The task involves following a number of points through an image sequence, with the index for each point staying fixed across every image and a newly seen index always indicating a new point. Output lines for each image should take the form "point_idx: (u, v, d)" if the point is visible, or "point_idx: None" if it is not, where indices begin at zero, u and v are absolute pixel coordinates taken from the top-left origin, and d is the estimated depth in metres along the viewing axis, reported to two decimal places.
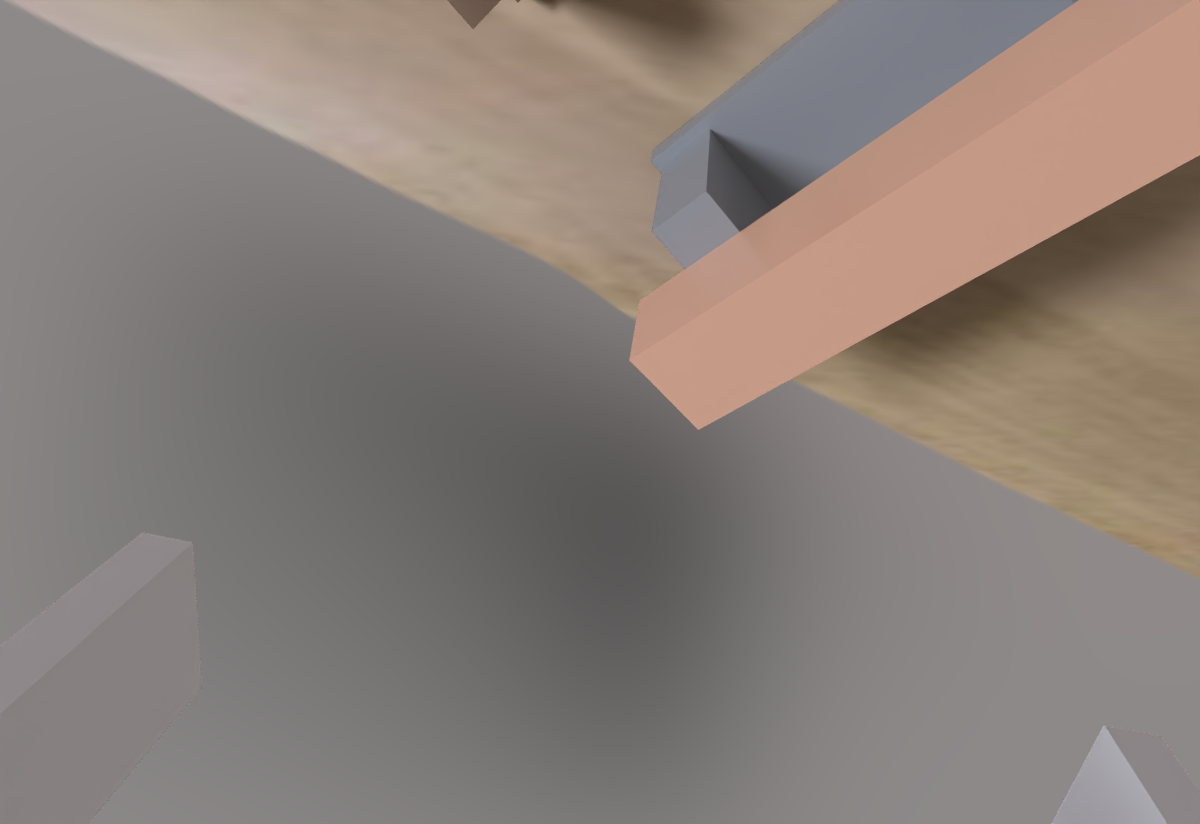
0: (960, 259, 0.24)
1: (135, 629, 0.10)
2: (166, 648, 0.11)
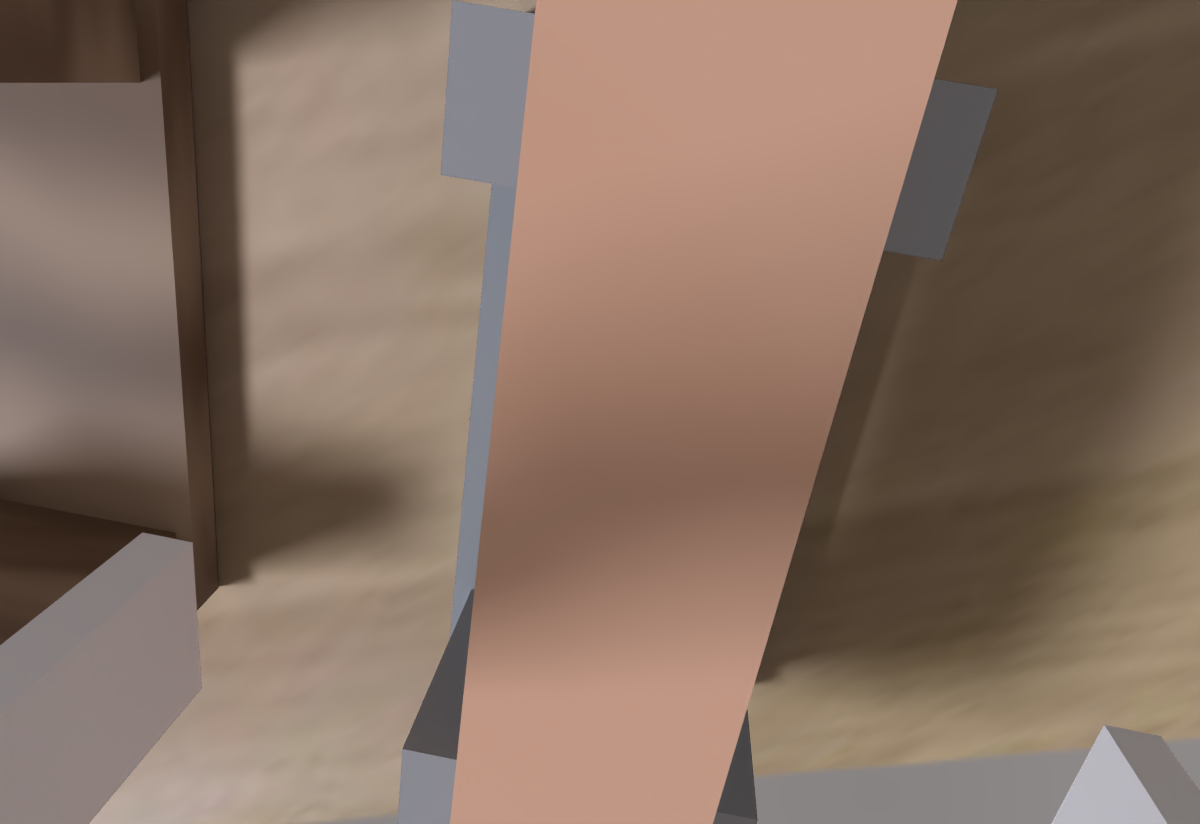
0: (676, 739, 0.11)
1: (135, 629, 0.10)
2: (166, 648, 0.11)
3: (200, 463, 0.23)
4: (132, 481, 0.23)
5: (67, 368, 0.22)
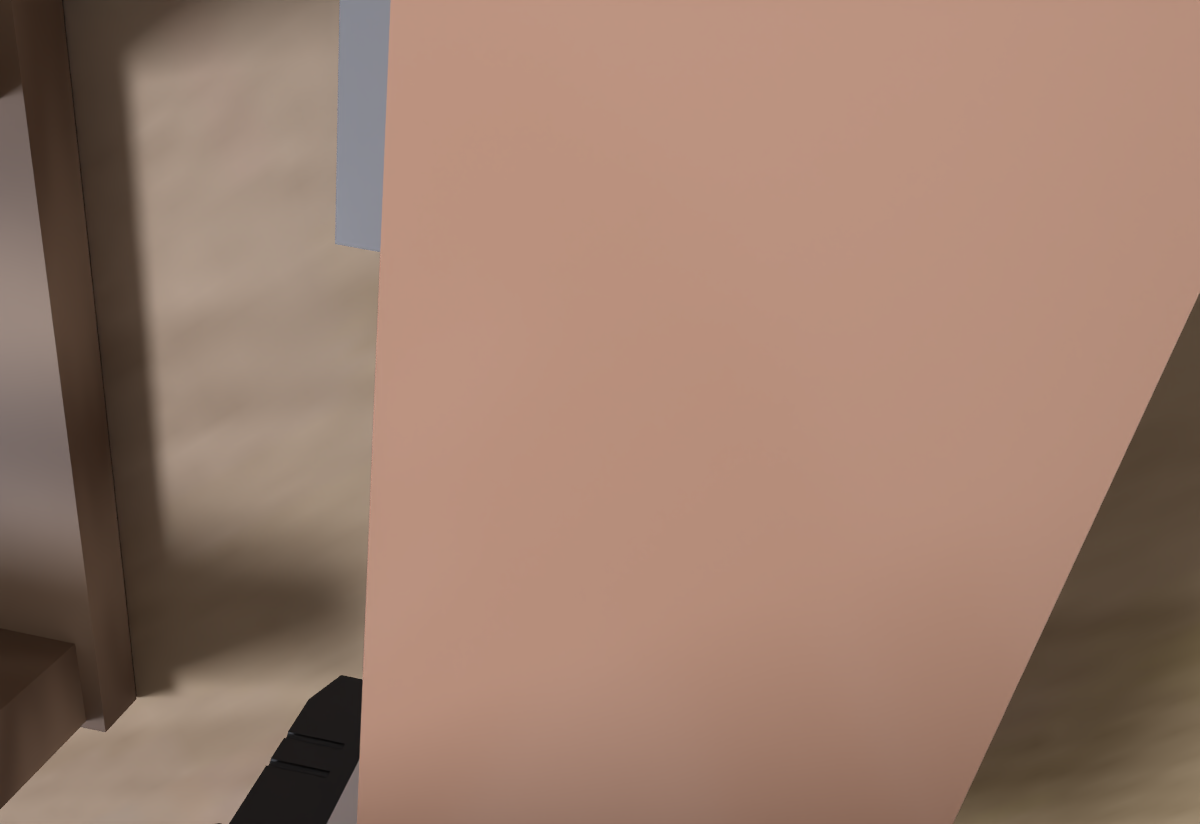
0: None
1: None
2: None
3: (104, 560, 0.19)
4: (19, 584, 0.19)
5: None
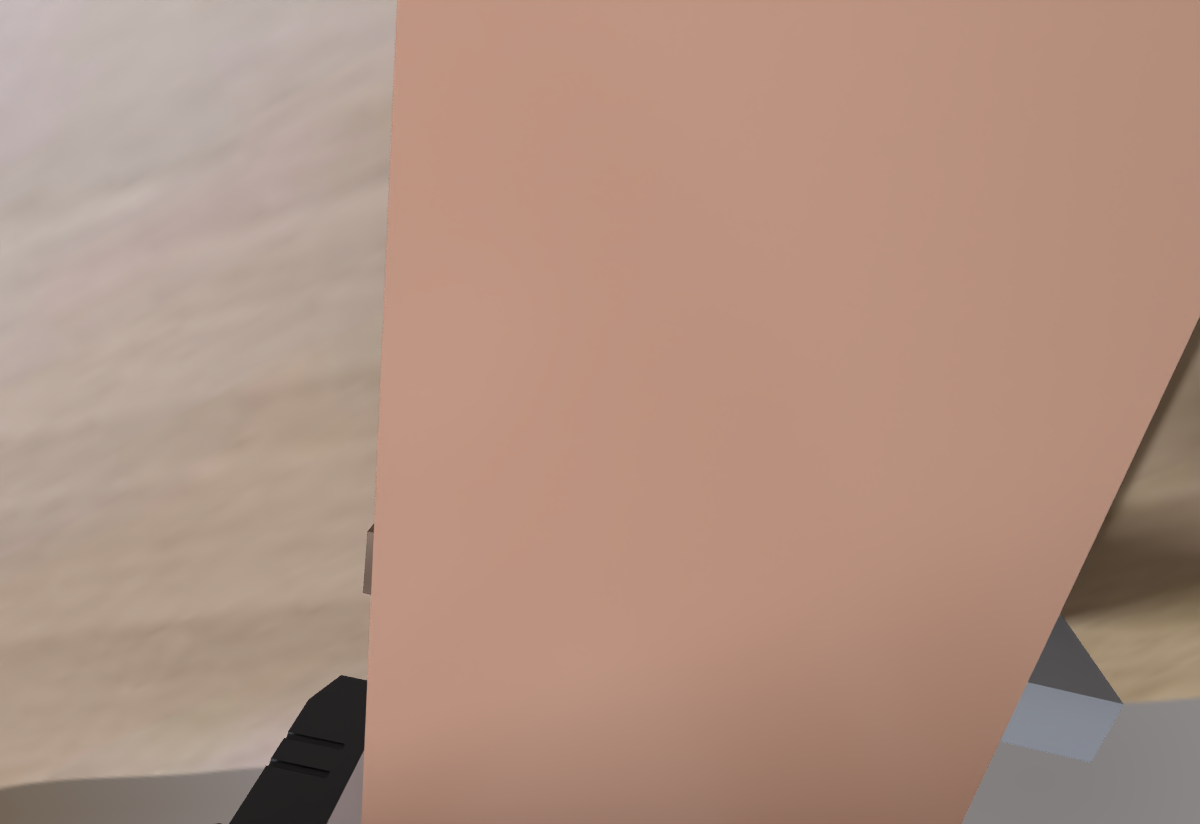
0: None
1: None
2: None
3: None
4: None
5: None
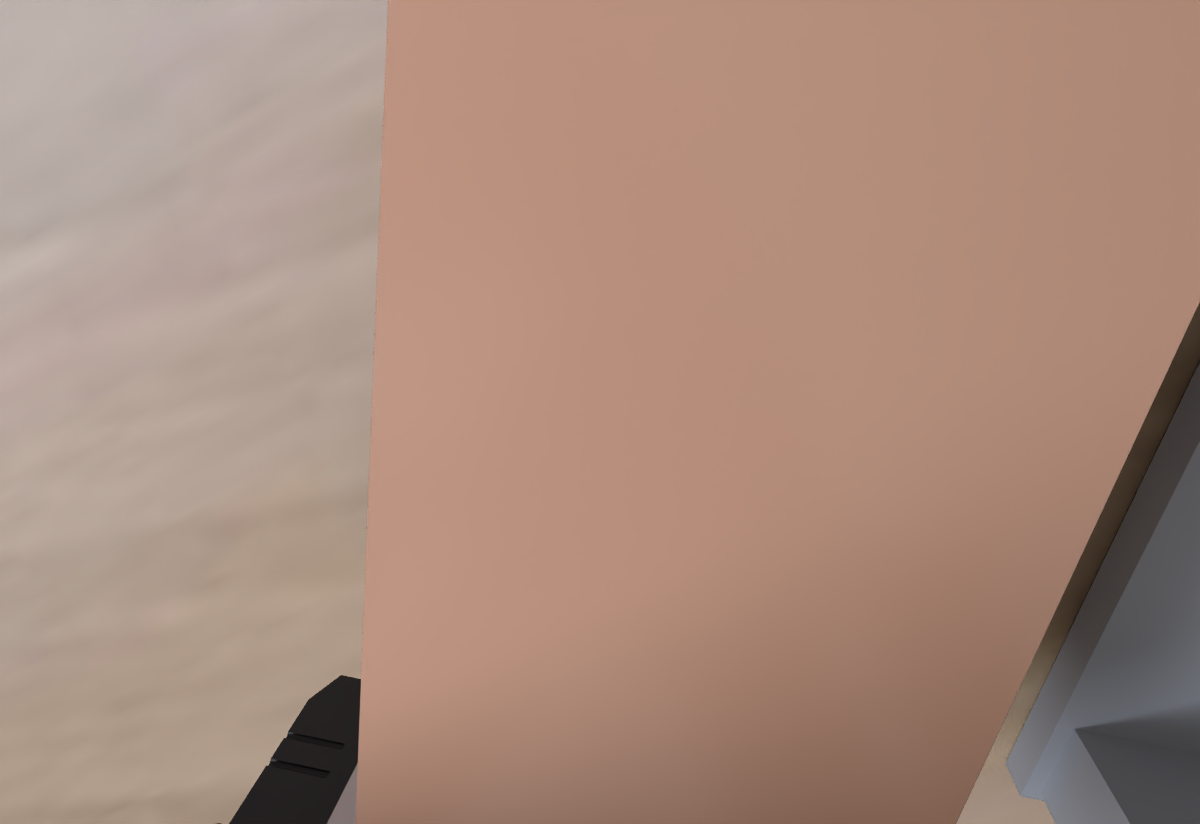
0: None
1: None
2: None
3: None
4: None
5: None
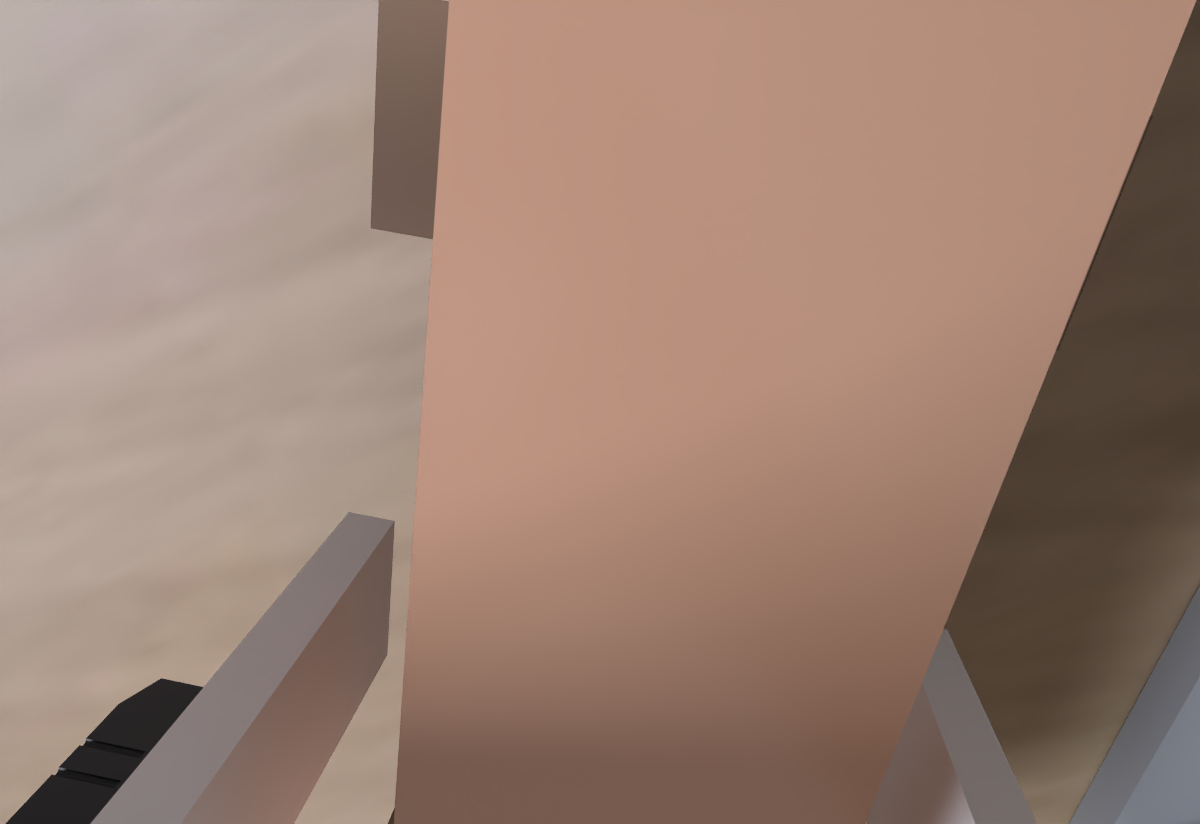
0: None
1: (360, 596, 0.11)
2: (373, 616, 0.12)
3: None
4: None
5: None
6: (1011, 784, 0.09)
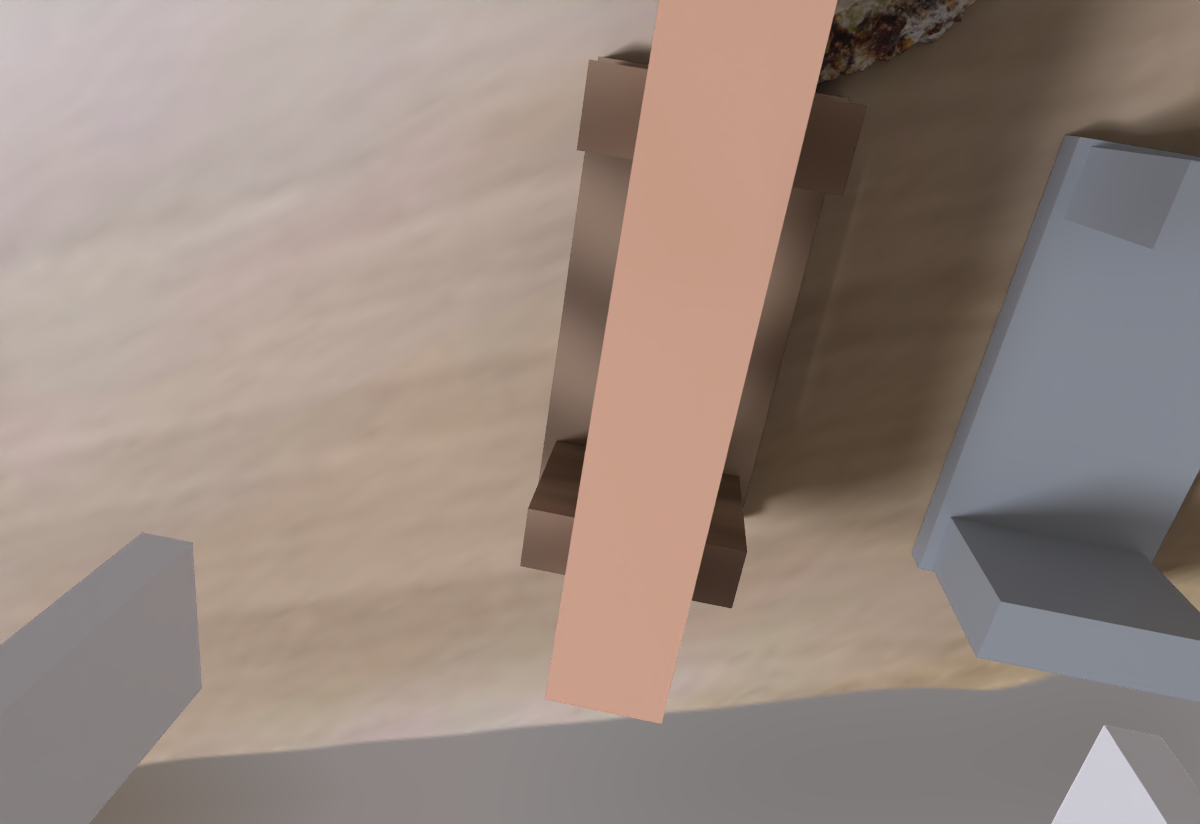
0: (700, 436, 0.22)
1: (135, 629, 0.10)
2: (166, 648, 0.11)
3: None
4: None
5: None
6: None
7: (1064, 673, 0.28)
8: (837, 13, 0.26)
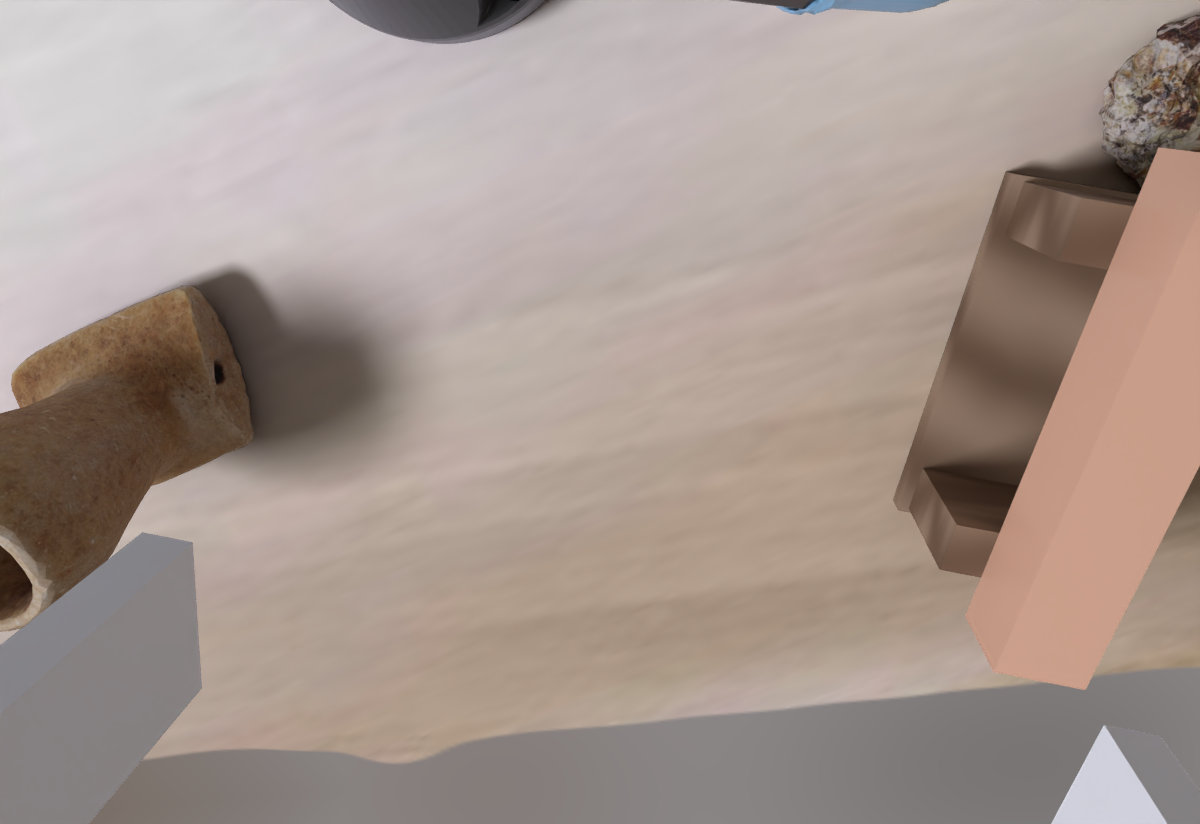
0: (1170, 475, 0.30)
1: (135, 629, 0.10)
2: (166, 648, 0.11)
3: None
4: None
5: None
6: None
7: None
8: None
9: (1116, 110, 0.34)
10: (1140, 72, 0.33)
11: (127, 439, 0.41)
